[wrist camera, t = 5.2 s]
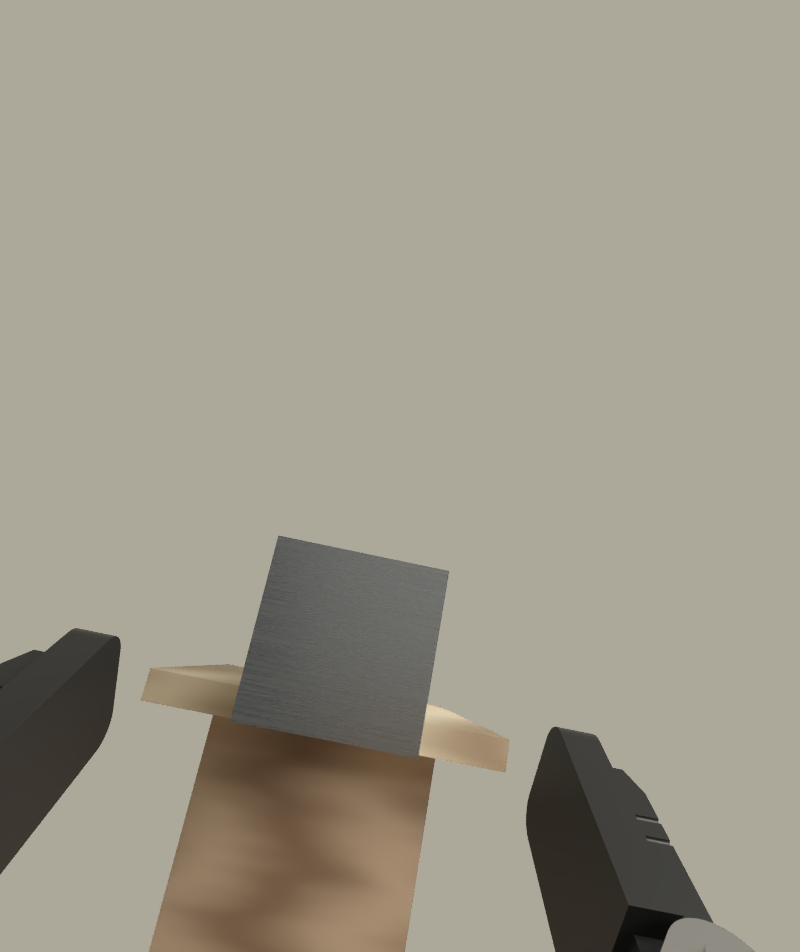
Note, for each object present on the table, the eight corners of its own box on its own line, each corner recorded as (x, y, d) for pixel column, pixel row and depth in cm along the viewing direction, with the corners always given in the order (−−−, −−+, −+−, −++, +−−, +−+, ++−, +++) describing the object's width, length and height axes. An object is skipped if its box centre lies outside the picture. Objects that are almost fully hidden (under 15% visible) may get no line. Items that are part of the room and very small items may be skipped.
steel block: (224, 720, 11) (273, 534, 12) (303, 678, 33) (317, 616, 35) (423, 759, 11) (453, 572, 12) (367, 691, 34) (379, 629, 35)
